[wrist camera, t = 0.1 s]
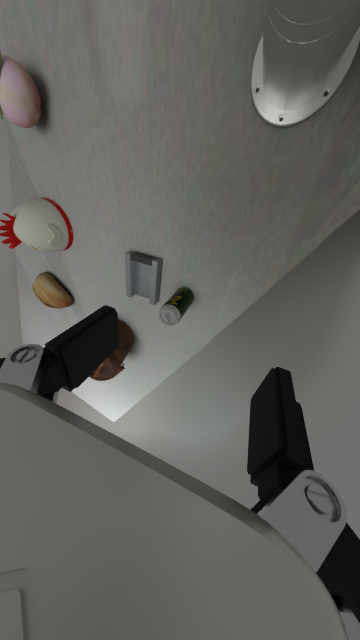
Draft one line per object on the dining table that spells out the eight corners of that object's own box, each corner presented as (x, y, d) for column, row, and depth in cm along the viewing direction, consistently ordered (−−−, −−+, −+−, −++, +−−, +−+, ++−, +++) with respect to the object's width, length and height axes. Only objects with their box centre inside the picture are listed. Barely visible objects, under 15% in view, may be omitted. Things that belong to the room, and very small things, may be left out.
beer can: (197, 301, 51) (182, 324, 41) (181, 306, 53) (164, 328, 44) (190, 284, 49) (173, 303, 39) (173, 289, 51) (154, 309, 42)
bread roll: (71, 309, 74) (54, 318, 67) (42, 281, 71) (21, 288, 65) (79, 296, 68) (60, 306, 62) (48, 265, 65) (25, 272, 59)
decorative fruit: (21, 59, 36) (-45, 20, 29) (54, 84, 37) (-3, 52, 29) (24, 120, 42) (-30, 101, 34) (52, 141, 42) (5, 128, 35)
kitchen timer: (41, 240, 60) (-13, 249, 48) (31, 191, 52) (-37, 188, 40) (75, 256, 58) (28, 269, 46) (70, 208, 50) (12, 209, 38)
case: (122, 357, 78) (92, 390, 64) (92, 320, 72) (52, 347, 58) (151, 348, 69) (123, 385, 54) (119, 304, 63) (79, 333, 48)
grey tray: (131, 250, 50) (125, 252, 47) (162, 259, 48) (157, 261, 45) (132, 292, 57) (126, 296, 55) (158, 301, 55) (154, 305, 53)
